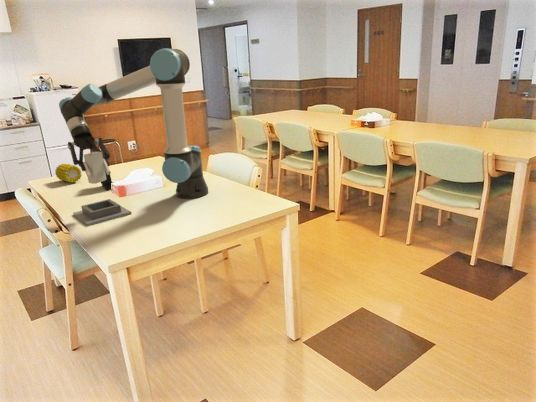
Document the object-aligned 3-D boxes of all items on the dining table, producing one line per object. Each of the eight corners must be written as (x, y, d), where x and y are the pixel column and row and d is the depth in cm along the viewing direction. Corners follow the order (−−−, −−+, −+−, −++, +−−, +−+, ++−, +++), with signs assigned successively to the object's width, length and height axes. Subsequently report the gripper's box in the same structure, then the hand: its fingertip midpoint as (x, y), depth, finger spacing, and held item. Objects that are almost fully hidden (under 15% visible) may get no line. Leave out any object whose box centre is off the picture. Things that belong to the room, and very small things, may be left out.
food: (56, 180, 231) (52, 163, 228) (78, 176, 237) (75, 159, 234) (60, 186, 219) (56, 168, 216) (84, 182, 225) (80, 164, 222)
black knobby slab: (107, 189, 205) (99, 160, 206) (103, 194, 216) (96, 167, 217) (114, 187, 207) (107, 159, 208) (111, 192, 218) (103, 165, 219)
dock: (114, 204, 187) (113, 196, 186) (131, 214, 174) (129, 205, 173) (73, 215, 176) (71, 206, 175) (87, 226, 163) (85, 216, 162)
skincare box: (99, 179, 175) (94, 151, 171) (107, 180, 173) (102, 151, 169) (87, 183, 169) (82, 154, 165) (95, 184, 168) (90, 155, 164)
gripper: (102, 132, 183) (121, 175, 176) (53, 139, 171) (72, 184, 164) (104, 121, 177) (124, 165, 171) (54, 127, 165) (74, 174, 159)
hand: (99, 174), depth 167 cm, fingers closed on skincare box, 7 cm apart
